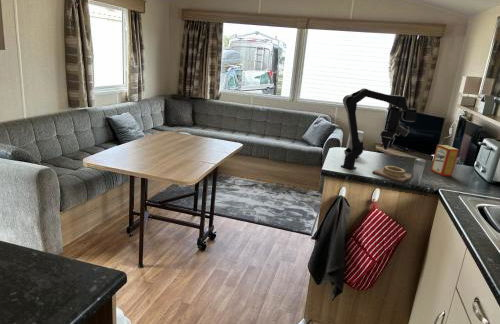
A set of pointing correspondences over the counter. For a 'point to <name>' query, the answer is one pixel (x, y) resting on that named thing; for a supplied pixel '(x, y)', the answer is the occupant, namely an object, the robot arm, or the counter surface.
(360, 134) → the skincare box
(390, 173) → the ring board
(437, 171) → the baking soda box
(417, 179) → the piston
